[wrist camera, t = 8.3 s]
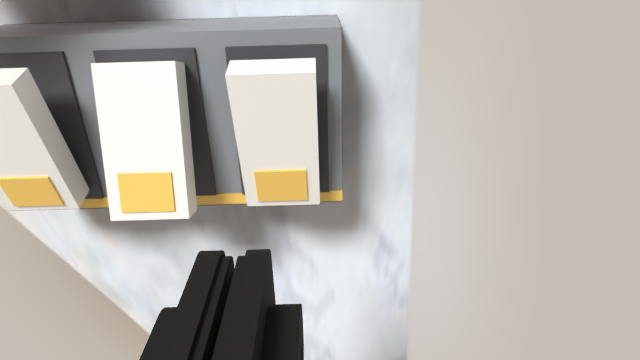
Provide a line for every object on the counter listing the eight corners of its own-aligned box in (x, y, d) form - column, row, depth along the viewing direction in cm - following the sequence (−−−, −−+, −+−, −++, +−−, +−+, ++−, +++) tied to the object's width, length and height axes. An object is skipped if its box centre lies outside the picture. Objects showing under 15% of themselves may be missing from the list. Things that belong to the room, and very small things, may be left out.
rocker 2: (105, 64, 20) (89, 63, 19) (184, 62, 20) (173, 60, 19) (123, 212, 22) (109, 221, 20) (197, 210, 22) (188, 219, 20)
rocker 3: (229, 60, 19) (224, 76, 18) (315, 58, 19) (315, 73, 18) (250, 188, 23) (247, 208, 22) (319, 186, 23) (320, 205, 22)
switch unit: (4, 24, 24) (-62, 39, 20) (336, 14, 24) (341, 27, 20) (55, 178, 28) (9, 218, 24) (338, 170, 28) (342, 208, 24)
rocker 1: (-59, 70, 19) (-82, 89, 18) (27, 67, 19) (9, 86, 18) (20, 191, 23) (6, 212, 22) (89, 189, 23) (78, 210, 22)
